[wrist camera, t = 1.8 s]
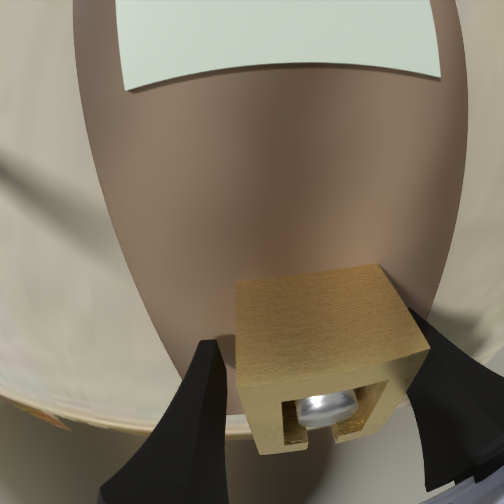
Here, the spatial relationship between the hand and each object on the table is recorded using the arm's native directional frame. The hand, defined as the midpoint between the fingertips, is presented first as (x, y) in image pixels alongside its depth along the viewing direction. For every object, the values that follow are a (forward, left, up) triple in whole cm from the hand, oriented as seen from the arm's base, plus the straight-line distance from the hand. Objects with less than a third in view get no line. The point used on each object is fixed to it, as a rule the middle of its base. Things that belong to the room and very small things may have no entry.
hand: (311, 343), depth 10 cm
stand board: (0, -6, -2) cm, 7 cm away
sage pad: (0, -14, -1) cm, 14 cm away
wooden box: (0, 0, -1) cm, 1 cm away
